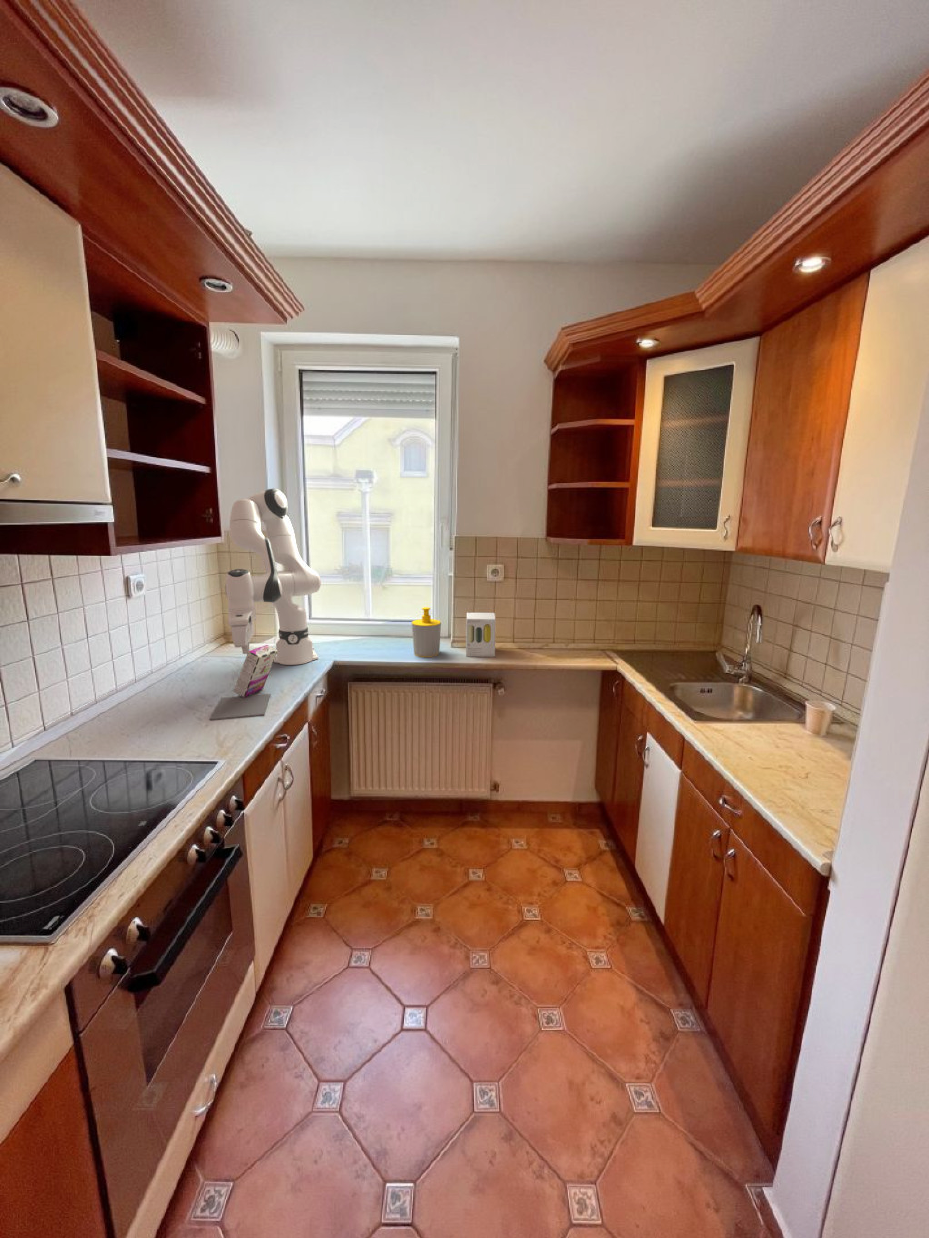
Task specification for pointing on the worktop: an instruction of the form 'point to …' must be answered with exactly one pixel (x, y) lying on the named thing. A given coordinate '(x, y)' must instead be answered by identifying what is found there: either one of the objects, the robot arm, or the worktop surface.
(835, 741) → the worktop surface
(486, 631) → the supplement box
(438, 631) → the soap bottle
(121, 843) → the worktop surface
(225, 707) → the mat
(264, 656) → the candy bar box
